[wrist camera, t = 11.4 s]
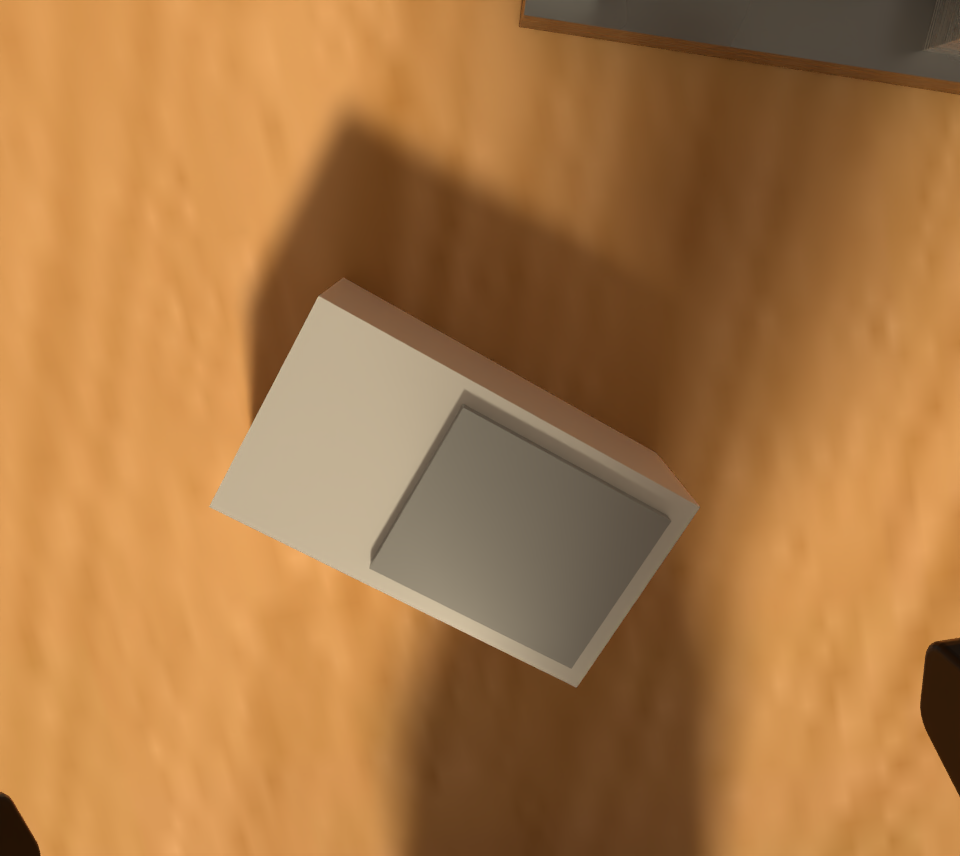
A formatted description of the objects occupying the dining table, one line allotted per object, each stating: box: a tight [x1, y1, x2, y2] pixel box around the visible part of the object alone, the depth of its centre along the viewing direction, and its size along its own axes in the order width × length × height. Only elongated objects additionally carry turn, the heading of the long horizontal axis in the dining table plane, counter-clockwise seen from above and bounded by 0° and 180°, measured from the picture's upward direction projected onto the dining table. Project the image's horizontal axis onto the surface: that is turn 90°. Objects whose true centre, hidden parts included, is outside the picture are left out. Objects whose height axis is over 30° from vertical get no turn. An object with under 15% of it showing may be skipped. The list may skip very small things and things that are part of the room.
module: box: [209, 277, 700, 688], centre depth 19 cm, size 5×9×4 cm, turn 60°
